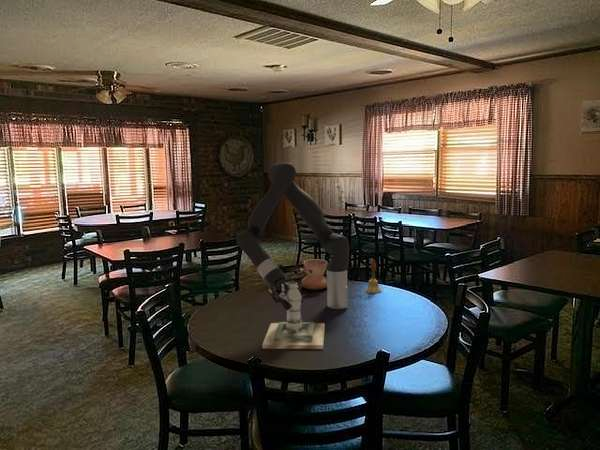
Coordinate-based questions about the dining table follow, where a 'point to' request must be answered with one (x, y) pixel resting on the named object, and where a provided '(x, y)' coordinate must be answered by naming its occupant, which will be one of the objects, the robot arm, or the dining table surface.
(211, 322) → the dining table surface
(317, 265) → the ceramic jug
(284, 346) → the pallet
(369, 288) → the hand bell
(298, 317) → the plastic bottle
